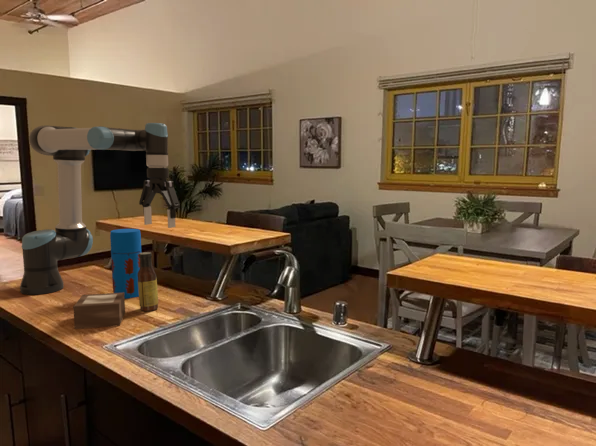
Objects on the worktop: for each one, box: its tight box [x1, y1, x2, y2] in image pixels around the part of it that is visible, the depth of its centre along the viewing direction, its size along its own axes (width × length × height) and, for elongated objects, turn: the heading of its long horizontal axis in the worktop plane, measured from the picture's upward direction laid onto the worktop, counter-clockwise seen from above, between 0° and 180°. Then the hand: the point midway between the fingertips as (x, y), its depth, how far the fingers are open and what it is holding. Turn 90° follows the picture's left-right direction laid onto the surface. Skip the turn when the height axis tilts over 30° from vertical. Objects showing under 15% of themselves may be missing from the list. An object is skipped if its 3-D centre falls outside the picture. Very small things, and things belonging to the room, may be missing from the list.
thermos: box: [109, 228, 142, 300], centre depth 174 cm, size 11×11×25 cm
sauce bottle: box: [138, 251, 159, 312], centre depth 157 cm, size 7×6×20 cm
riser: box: [72, 292, 126, 330], centre depth 146 cm, size 13×13×7 cm
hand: (159, 225), depth 166 cm, fingers open, 13 cm apart
